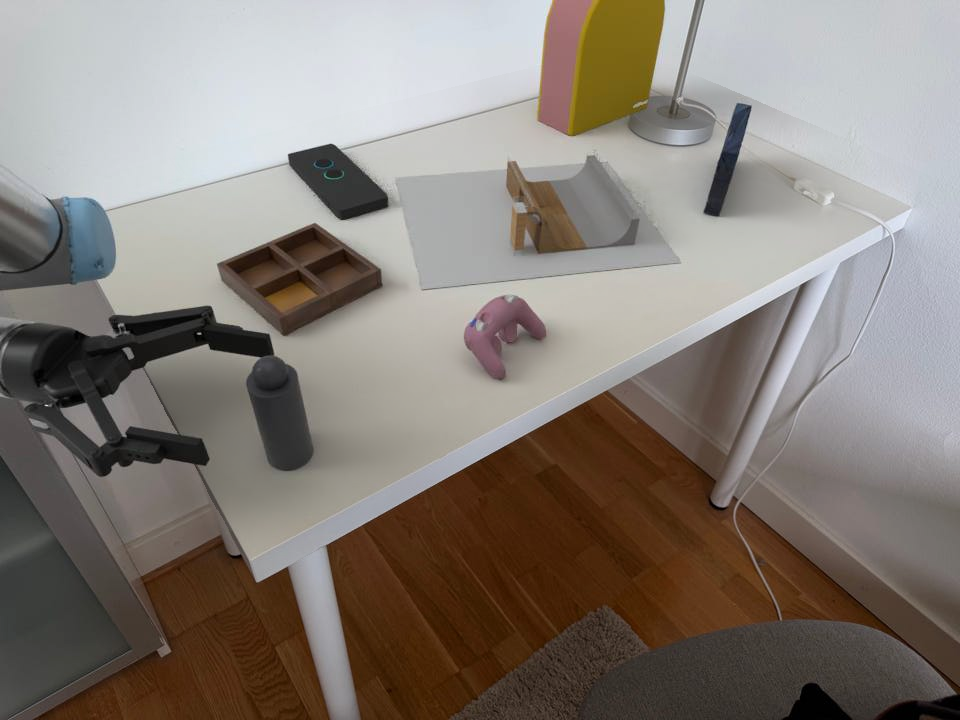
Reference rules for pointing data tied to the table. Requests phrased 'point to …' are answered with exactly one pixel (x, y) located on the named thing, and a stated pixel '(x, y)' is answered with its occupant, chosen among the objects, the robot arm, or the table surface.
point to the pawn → (280, 413)
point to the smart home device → (338, 181)
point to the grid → (299, 277)
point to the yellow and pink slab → (597, 61)
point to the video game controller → (500, 330)
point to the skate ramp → (526, 224)
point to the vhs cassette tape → (728, 159)
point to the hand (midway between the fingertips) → (240, 395)
